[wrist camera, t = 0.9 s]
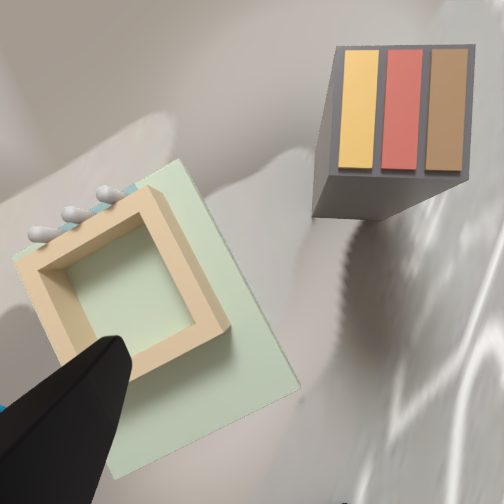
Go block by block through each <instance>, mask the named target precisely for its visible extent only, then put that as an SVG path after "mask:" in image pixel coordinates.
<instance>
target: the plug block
mask: <svg viewBox="0 0 504 504" xmlns="http://www.w3.org/2000/svg"><path fill="white" fill-rule="evenodd" d="M475 46H476V44H466V45H396V46H395V45H394V46H337V47H336V51H335V55H334V61H333V66H332V71H331V76H330V81H329V86H328V91H327V96H326V101H325V106H324V111H323V116H322V121H321V126H320V131H319V136H318V141H317V146H316V154H315V170H314V186H313V203H312V217H318V218H338V219H359V220H380V221H382V220H384V219H386V218H388V217H390V216H393V215H395V214H397V213H399V212H401V211H403V210H405V209H407V208H410V207H412V206H414V205H416V204H418V203H420V202H422V201H425V200H427V199H429V198H431V197H433V196H435V195H437V194H439V193H442V192H444V191H446V190H448V189H450V188H452V187H454V186H457V185H459V184H461V183H463V182H465V181H467V180H469V164H470V144H471V125H472V105H473V86H474V66H475Z"/></svg>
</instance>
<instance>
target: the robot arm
mask: <svg viewBox="0 0 504 504" xmlns="http://www.w3.org/2000/svg"><path fill="white" fill-rule="evenodd" d="M131 371H132V359H131V356H130V354H129V351H128V349H127V347H126V345H125V342H124V340H123V338H122V337H121V336H119V335H110V336H103V337H101V338H100V339H98V340H97V341H96V342H94V343H93V344H92V345H90V346H89V347H88V348H86V349H85V350H84V351H82V352H81V353H79V354H78V355H77V356H75V357H74V358H73V359H71V360H70V361H69V362H67V363H66V364H65V365H63V366H62V367H61V368H59V369H58V370H57V371H55V372H54V373H53V374H51V375H50V376H49V377H47V378H46V379H44V380H43V381H42V382H40V383H39V384H38V385H36V386H35V387H34V388H33V389H31V390H30V391H28V392H27V393H26V394H25V395H23V396H22V397H20V398H19V399H18V400H16V401H15V402H13V403H12V404H11V405H10V406H8V407H7V408H5V409H4V410H3V411H1V412H0V504H91V503H92V500H93V497H94V494H95V491H96V488H97V486H98V482H99V480H100V477H101V474H102V471H103V468H104V466H105V463H106V460H107V457H108V454H109V452H110V449H111V446H112V443H113V440H114V437H115V434H116V431H117V428H118V424H119V420H120V416H121V412H122V408H123V404H124V400H125V396H126V392H127V388H128V384H129V380H130V376H131ZM343 504H347V503H343Z"/></svg>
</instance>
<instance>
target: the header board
mask: <svg viewBox="0 0 504 504" xmlns="http://www.w3.org/2000/svg"><path fill="white" fill-rule="evenodd" d="M96 197H97V199H98V200H99V201H101V202H102V203H100V204H98V205H97V206H95V207H93V208H92V209H90V210H85V209H81V208H77V207H73V206H66V207H65V208H64V209H63V210H62V213H61V216H62V219H63V220H64V221H65V222H68V223H66V224H65V225H63V226H61V227H59V228H58V229H54V228H47V227H40V226H33V227H31V228H30V229H29V231H28V238H29V240H30V241H32V242H35V243H34V244H32V245H30V246H28V247H27V248H25V249H23V250H22V251H20V252H18V253H17V254H15V255H13V256H11V259H12V261H13V263H14V266H15V268H16V270H17V272H18V274H19V276H20V278H21V281H22V283H23V285H24V287H25V289H26V291H27V294H28V296H29V298H30V300H31V302H32V304H33V306H34V309H35V311H36V313H37V315H38V317H39V319H40V321H41V324H42V326H43V328H44V330H45V332H46V334H47V336H48V339H49V341H50V343H51V345H52V347H53V349H54V351H55V354H56V356H57V358H58V360H59V362H60V364H61V366H63V365H65V364H66V363H67V362H69V361H70V360H71V359H73V358H74V357H75V356H77V355H78V354H79V353H81V352H82V351H84V350H85V349H86V348H88V347H89V346H90V345H92V344H93V343H94V342H96V341H97V340H98V339H100V338H101V337H103V336H110V335H119V336H121V337H122V338H123V340H124V342H125V345H126V347H127V349H128V351H129V354H130V356H131V359H132V371H131V376H130V380H129V384H128V388H127V392H126V396H125V400H124V404H123V408H122V412H121V416H120V420H119V424H118V428H117V431H116V434H115V437H114V440H113V443H112V446H111V449H110V452H109V454H108V457H107V460H106V463H107V465H108V467H109V469H110V472H111V474H112V476H113V478H114V480H117V479H119V478H121V477H123V476H125V475H127V474H129V473H131V472H133V471H135V470H137V469H139V468H141V467H144V466H146V465H148V464H149V463H152V462H154V461H156V460H158V459H160V458H162V457H164V456H166V455H168V454H170V453H172V452H173V451H176V450H178V449H180V448H182V447H184V446H186V445H188V444H190V443H192V442H194V441H196V440H198V439H200V438H202V437H204V436H206V435H208V434H210V433H212V432H214V431H216V430H218V429H220V428H222V427H224V426H226V425H228V424H231V423H232V422H235V421H237V420H239V419H241V418H243V417H245V416H247V415H249V414H250V413H253V412H255V411H257V410H259V409H261V408H263V407H265V406H267V405H269V404H271V403H273V402H275V401H277V400H279V399H281V398H283V397H285V396H287V395H289V394H291V393H293V392H295V391H297V390H299V389H300V382H299V380H298V379H297V376H296V374H295V372H294V371H293V369H292V367H291V365H290V363H289V361H288V359H287V357H286V355H285V353H284V352H283V350H282V348H281V346H280V344H279V342H278V340H277V338H276V337H275V335H274V333H273V331H272V329H271V327H270V325H269V323H268V321H267V319H266V318H265V316H264V314H263V312H262V310H261V308H260V306H259V304H258V302H257V301H256V299H255V297H254V295H253V293H252V291H251V289H250V287H249V285H248V284H247V282H246V280H245V278H244V276H243V274H242V272H241V270H240V268H239V267H238V265H237V263H236V261H235V259H234V257H233V255H232V253H231V251H230V250H229V248H228V246H227V244H226V242H225V240H224V238H223V236H222V234H221V233H220V231H219V229H218V227H217V225H216V223H215V221H214V219H213V217H212V216H211V214H210V212H209V210H208V208H207V206H206V204H205V202H204V200H203V198H202V197H201V195H200V193H199V191H198V189H197V188H196V185H195V184H194V181H193V180H192V178H191V176H190V174H189V172H188V170H187V168H186V167H185V164H184V163H183V162H182V161H181V160H180V159H179V158H178V159H176V160H174V161H173V162H171V163H169V164H168V165H166V166H164V167H162V168H161V169H159V170H157V171H156V172H154V173H152V174H151V175H149V176H147V177H146V178H144V179H142V180H140V181H139V182H137V183H135V184H132V185H131V186H129V187H127V188H126V189H124V190H122V191H118V190H116V189H113V188H111V187H108V186H106V185H102V186H100V187H99V188H98V189H97V191H96Z"/></svg>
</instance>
